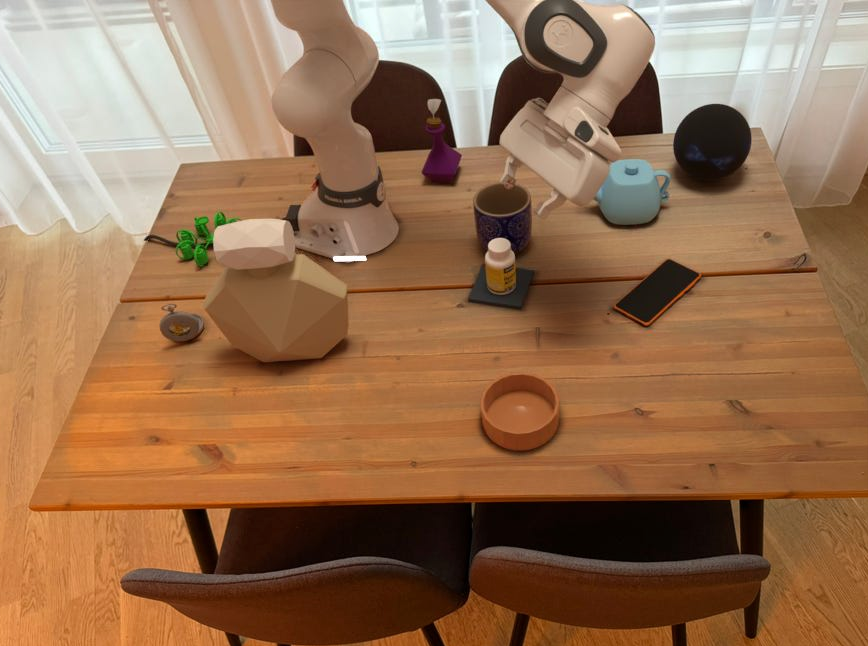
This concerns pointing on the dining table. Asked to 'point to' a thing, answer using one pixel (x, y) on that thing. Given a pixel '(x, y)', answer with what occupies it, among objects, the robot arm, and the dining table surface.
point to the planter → (503, 215)
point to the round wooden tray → (520, 411)
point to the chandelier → (201, 228)
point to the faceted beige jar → (274, 294)
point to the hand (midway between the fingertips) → (521, 200)
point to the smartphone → (657, 292)
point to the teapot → (632, 192)
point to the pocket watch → (180, 325)
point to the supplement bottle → (500, 267)
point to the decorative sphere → (712, 142)
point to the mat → (509, 300)
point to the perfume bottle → (439, 150)
